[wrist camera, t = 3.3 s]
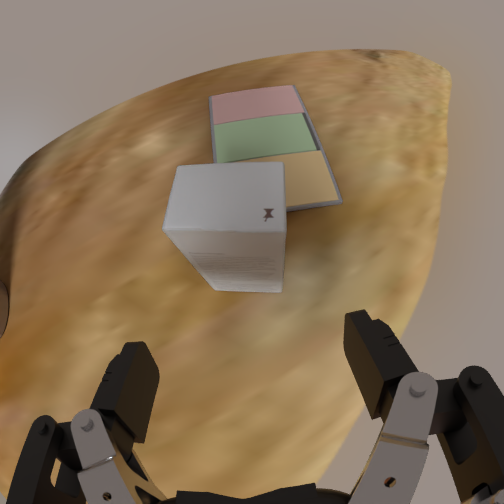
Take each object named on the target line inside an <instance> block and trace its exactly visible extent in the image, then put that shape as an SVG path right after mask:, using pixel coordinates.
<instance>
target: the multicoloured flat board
mask: <svg viewBox="0 0 504 504" xmlns="http://www.w3.org/2000/svg"><path fill="white" fill-rule="evenodd" d="M209 109H210V123H211V136H212V148H213V160H214V163H233V162H283V163H284V165H285V187H286V212H288V211H295V210H302V209H308V208H315V207H322V206H329V205H337V204H342V202H343V200H342V198H341V195H340V192H339V189H338V186H337V184H336V181H335V178H334V175H333V173H332V170H331V168H330V165H329V162H328V160H327V157H326V155H325V152H324V150H323V147H322V145H321V142H320V140H319V138H318V135H317V133H316V131H315V128H314V126H313V124H312V122H311V119H310V117H309V115H308V113H307V110H306V108H305V106H304V104H303V102H302V100H301V98H300V96H299V93H298V91H297V89H296V87H295V85H287V86H276V87H266V88H258V89H250V90H243V91H237V92H231V93H225V94H219V95H214V96H209Z"/></svg>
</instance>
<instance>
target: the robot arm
mask: <svg viewBox="0 0 504 504" xmlns="http://www.w3.org/2000/svg"><path fill="white" fill-rule="evenodd" d="M7 317H8V295H7V290H6V287H5V285H4V284H3V282H1V281H0V338H1V336H2V334H3V332H4V330H5V326H6V322H7ZM343 344H344V351H345V355H346V358H347V360H348V363H349V365H350V367H351V370H352V372H353V374H354V377H355V379H356V382H357V384H358V386H359V389H360V391H361V394H362V396H363V399H364V401H365V404H366V406H367V409H368V411H369V414H370V416H371V419H372V420H373V419H376V418H378V417H381V419H382V421H383V423H384V424H383V426H382V429H381V431H380V434H379V436H378V438H377V441H376V443H375V445H374V448H373V450H372V452H371V455H370V457H369V459H368V461H367V463H366V465H365V467H364V469H363V471H362V473H361V475H360V477H359V479H358V480H357V482H356V484H355V486H354V488H353V490H352V492H351V493H350V495H349V494H347V493H344V492H341V491H337V490H332V489H320V488H319V489H318V488H316V485H315V483H311V484H305V485H300V486H293V487H287V488H280V489H277V490H274V491H271V492H268V493H264V494H261V495H258V496H254V497H251V498H247V499H239V498H234V497H228V496H223V495H219V494H214V493H210V492H191V491H177V494H176V497H174V498H170V499H167V498H166V496H165V495H164V494H163V493H162V492H161V491H160V490H159V489H158V488H157V487H156V486H155V484H154V483H153V481H152V480H151V478H150V477H149V475H148V473H147V472H146V470H145V468H144V467H143V465H142V463H141V461H140V460H139V458H138V456H137V454H136V452H135V451H134V450H133V449H132V447H133V443H134V442H135V443H144V442H145V437H146V433H147V428H148V424H149V420H150V415H151V411H152V407H153V403H154V399H155V395H156V391H157V387H158V383H159V378H160V376H159V370H158V367H157V365H156V363H155V361H154V359H153V357H152V355H151V353H150V351H149V349H148V347H147V345H146V344H145V343H144V342H143V341H141V342H127V343H125V345H124V347H123V349H122V351H121V353H120V354H117V355H116V356H115V357H114V359H113V360H112V361H111V362H110V363H109V365H108V367H107V369H106V372H105V373H106V374H104V376H103V378H102V382H101V383H100V385H99V387H98V390H97V392H96V394H95V397H94V399H93V401H92V404H91V406H90V408H89V409H85V410H82V411H80V412H79V413H77V414H76V415H75V416H74V418H73V419H72V421H71V422H64V423H57V422H56V421H55V420H54V419H53V418H52V417H51V416H48V415H43V416H40V417H38V418H37V419H36V420H35V421H34V422H33V424H32V426H31V428H30V431H29V433H28V436H27V438H26V441H25V444H24V446H23V449H22V452H21V455H20V457H19V460H18V463H17V466H16V469H15V473H14V476H13V479H12V483H11V486H10V490H9V493H8V497H7V502H6V504H86V500H87V502H88V504H410V502H411V499H412V497H413V495H414V492H415V490H416V487H417V484H418V482H419V479H420V476H421V473H422V470H423V467H424V464H425V461H426V458H427V454H428V450H429V445H428V444H427V438H428V435H433V434H436V435H437V437H438V440H439V442H440V444H441V447H442V450H443V452H444V455H445V457H446V460H447V462H448V465H449V468H450V471H451V474H452V477H453V480H454V482H455V486H456V488H457V492H458V495H459V498H460V501H461V504H504V396H503V395H502V393H501V391H500V389H499V388H498V386H497V385H496V383H495V382H494V380H493V379H492V377H491V375H490V374H489V373H488V371H486V370H485V369H484V368H482V367H479V366H469V367H466V368H465V369H463V371H462V372H461V373H460V375H459V377H458V378H454V379H445V380H435V379H434V378H433V377H432V376H430V375H429V374H427V373H423V372H419V371H418V370H417V368H416V366H415V365H414V363H413V362H412V360H411V359H410V357H409V355H408V354H407V352H406V351H405V349H404V348H403V346H402V345H401V344H400V342H399V340H398V339H397V337H396V336H395V334H394V333H393V331H392V330H391V328H390V327H389V325H387V324H386V323H384V322H383V321H381V320H380V319H376V320H372V319H371V318H370V316H369V315H368V313H367V312H366V310H364V309H363V310H359V311H355V312H350V313H346V314H345V324H344V341H343ZM56 458H57V459H58V460H59V461H60V462H61V465H60V469H59V473H58V477H57V481H56V485H55V487H54V486H53V485H52V483H51V479H50V477H51V473H52V469H53V466H54V462H55V459H56Z"/></svg>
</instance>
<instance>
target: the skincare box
mask: <svg viewBox="0 0 504 504" xmlns="http://www.w3.org/2000/svg"><path fill="white" fill-rule="evenodd" d="M162 230H163V231H164V233H165V234H166V235H167V236H168V237H169V238H170V240H171V241H172V242H173V243H174V244H175V245H176V247H177V248H178V249H179V250H180V251H181V252H182V254H183V255H184V256H185V257H186V258H187V259H188V260H189V262H190V263H191V264H192V265H193V266H194V267H195V269H196V270H197V271H198V272H199V273H200V274H201V275H202V277H203V278H204V279H205V280H206V281H207V282H208V283H209V284H210V286H211V287H212V288H213V289H214V290H220V291H243V292H277V293H281V292H282V290H283V276H284V260H285V240H286V231H287V224H286V187H285V165H284V163H283V162H233V163H212V164H195V165H180V166H177V170H176V174H175V178H174V182H173V185H172V189H171V193H170V197H169V201H168V205H167V209H166V214H165V218H164V222H163V227H162Z"/></svg>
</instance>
